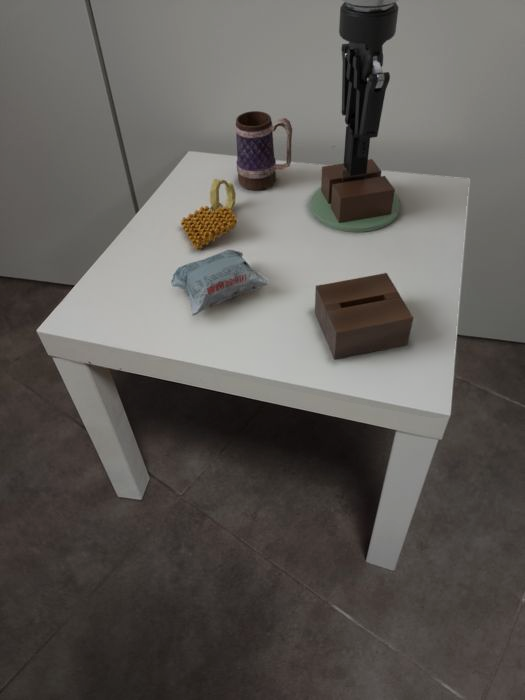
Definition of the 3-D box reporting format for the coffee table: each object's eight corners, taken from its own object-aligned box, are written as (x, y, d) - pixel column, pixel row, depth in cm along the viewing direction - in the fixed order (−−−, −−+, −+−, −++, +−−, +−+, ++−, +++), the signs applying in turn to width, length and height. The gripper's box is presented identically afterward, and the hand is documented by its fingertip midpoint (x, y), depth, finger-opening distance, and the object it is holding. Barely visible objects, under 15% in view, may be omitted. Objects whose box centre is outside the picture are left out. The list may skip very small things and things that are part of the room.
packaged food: (269, 295, 78) (267, 268, 75) (194, 325, 75) (189, 298, 71) (242, 263, 84) (239, 237, 80) (171, 290, 80) (165, 263, 77)
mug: (232, 188, 98) (226, 123, 90) (245, 168, 103) (241, 105, 94) (286, 196, 96) (285, 130, 87) (297, 176, 100) (297, 111, 92)
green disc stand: (413, 223, 89) (419, 194, 85) (325, 238, 87) (326, 209, 83) (380, 177, 99) (383, 149, 95) (300, 190, 97) (300, 162, 93)
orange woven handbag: (215, 232, 81) (250, 164, 87) (159, 231, 86) (196, 166, 92) (231, 263, 86) (263, 196, 93) (178, 260, 91) (212, 197, 97)
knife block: (407, 345, 71) (413, 317, 67) (334, 359, 70) (336, 332, 66) (382, 300, 77) (386, 272, 73) (314, 312, 76) (315, 285, 72)
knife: (364, 202, 92) (373, 127, 82) (342, 206, 91) (347, 131, 82) (360, 196, 93) (368, 122, 83) (338, 200, 93) (343, 125, 83)
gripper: (325, -11, 75) (319, 150, 92) (361, 24, 65) (347, 197, 82) (376, -17, 76) (361, 144, 93) (420, 17, 66) (394, 189, 83)
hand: (354, 169), depth 88 cm, fingers closed on knife, 2 cm apart
